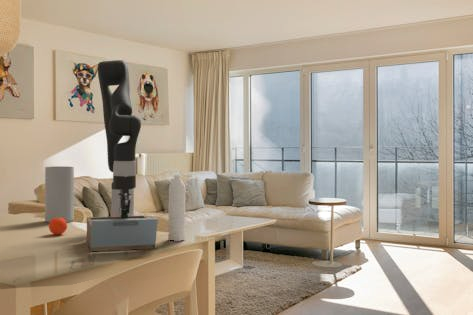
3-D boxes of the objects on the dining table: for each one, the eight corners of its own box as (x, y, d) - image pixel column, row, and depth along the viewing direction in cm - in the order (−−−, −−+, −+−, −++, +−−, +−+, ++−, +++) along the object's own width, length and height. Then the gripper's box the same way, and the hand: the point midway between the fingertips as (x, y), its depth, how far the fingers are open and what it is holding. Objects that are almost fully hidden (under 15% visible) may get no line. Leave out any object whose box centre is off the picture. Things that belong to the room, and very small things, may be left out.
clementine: (49, 233, 225) (49, 215, 224) (67, 232, 226) (67, 215, 226) (48, 236, 217) (48, 218, 217) (66, 235, 219) (66, 217, 219)
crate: (86, 241, 207) (86, 217, 207) (146, 238, 214) (146, 215, 213) (90, 251, 188) (90, 225, 188) (155, 248, 195) (155, 223, 194)
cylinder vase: (39, 221, 256) (39, 167, 255) (62, 218, 266) (62, 166, 265) (56, 224, 248) (56, 168, 248) (79, 221, 259) (79, 167, 258)
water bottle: (169, 241, 208) (170, 174, 208) (166, 238, 215) (167, 173, 214) (192, 240, 211) (193, 174, 210) (189, 237, 217) (189, 173, 216)
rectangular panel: (90, 245, 187) (91, 219, 183) (154, 242, 194) (157, 217, 190) (91, 249, 185) (92, 223, 181) (155, 246, 192) (158, 221, 188)
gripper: (111, 173, 193) (110, 223, 194) (115, 175, 180) (114, 229, 181) (133, 173, 195) (132, 222, 196) (138, 175, 183) (138, 228, 183)
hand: (124, 225), depth 188 cm, fingers closed
